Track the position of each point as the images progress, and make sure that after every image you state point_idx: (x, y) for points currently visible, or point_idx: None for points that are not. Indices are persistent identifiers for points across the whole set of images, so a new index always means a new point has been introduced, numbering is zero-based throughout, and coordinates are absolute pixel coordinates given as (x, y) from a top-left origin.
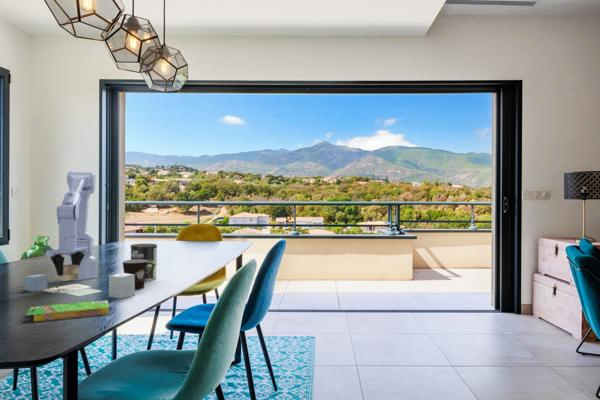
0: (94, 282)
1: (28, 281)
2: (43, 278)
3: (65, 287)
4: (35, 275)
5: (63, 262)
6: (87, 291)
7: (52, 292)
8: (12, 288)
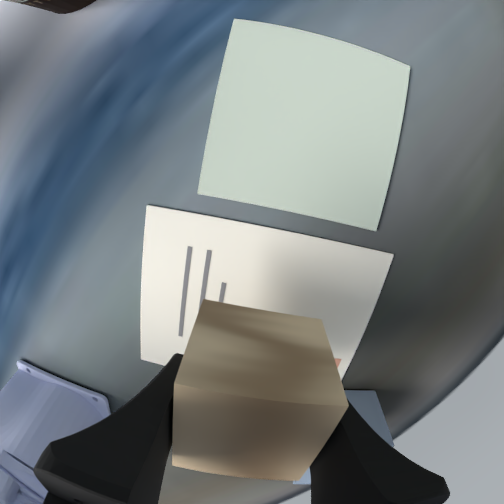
0: (64, 300)
1: None
2: None
3: None
4: None
5: (358, 460)
6: (287, 103)
7: (375, 304)
8: None
